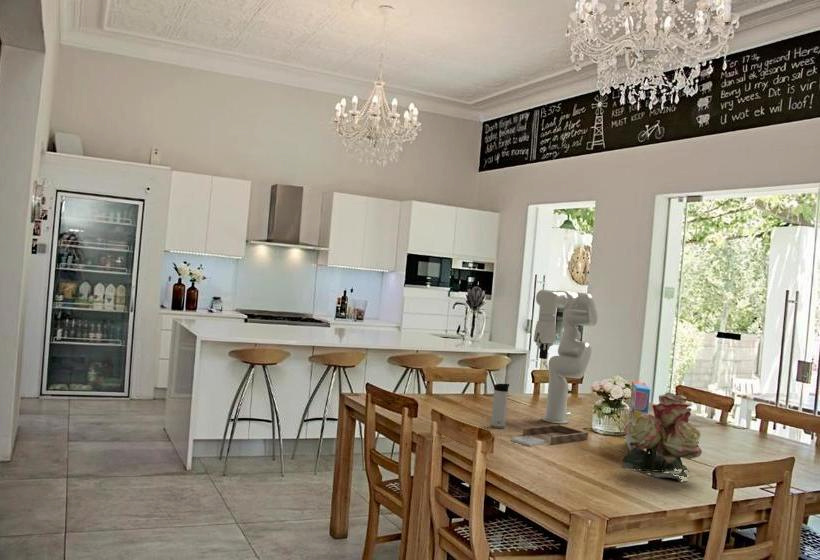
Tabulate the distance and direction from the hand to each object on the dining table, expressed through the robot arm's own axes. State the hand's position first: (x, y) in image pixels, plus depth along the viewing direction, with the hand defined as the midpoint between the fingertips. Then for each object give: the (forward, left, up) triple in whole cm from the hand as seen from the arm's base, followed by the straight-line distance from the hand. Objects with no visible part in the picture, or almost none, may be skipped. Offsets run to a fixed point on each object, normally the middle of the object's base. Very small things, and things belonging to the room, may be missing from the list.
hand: (543, 358), depth 338 cm
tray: (+9, +17, -32) cm, 37 cm away
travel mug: (+17, -8, -32) cm, 37 cm away
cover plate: (+27, +18, -33) cm, 46 cm away
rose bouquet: (+9, +69, -32) cm, 77 cm away
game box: (-14, +42, -32) cm, 55 cm away
